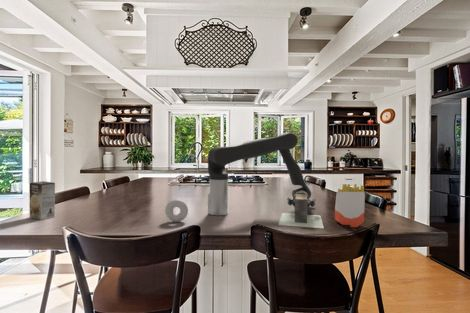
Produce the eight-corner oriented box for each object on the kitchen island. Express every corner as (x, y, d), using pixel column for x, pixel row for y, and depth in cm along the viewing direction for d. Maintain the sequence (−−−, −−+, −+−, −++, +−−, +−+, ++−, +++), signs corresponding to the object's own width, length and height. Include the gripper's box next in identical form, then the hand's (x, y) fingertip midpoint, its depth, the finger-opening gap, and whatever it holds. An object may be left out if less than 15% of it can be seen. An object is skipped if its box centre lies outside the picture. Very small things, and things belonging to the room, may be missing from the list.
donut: (164, 222, 119) (164, 199, 118) (166, 220, 122) (166, 198, 122) (187, 223, 118) (187, 200, 118) (188, 221, 122) (188, 198, 122)
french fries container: (334, 224, 120) (335, 182, 119) (358, 224, 120) (359, 183, 119) (338, 226, 115) (339, 184, 114) (364, 227, 115) (365, 184, 115)
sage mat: (278, 227, 114) (278, 224, 114) (282, 215, 135) (282, 213, 135) (323, 230, 109) (323, 228, 109) (320, 217, 131) (320, 215, 131)
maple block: (294, 222, 118) (295, 199, 117) (295, 214, 131) (295, 194, 131) (307, 223, 116) (307, 199, 116) (306, 215, 130) (306, 194, 130)
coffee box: (28, 217, 124) (28, 182, 124) (43, 214, 130) (43, 181, 130) (41, 220, 121) (40, 183, 120) (55, 217, 126) (55, 182, 126)
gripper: (287, 190, 143) (285, 196, 126) (315, 192, 139) (317, 197, 123) (287, 205, 143) (285, 212, 126) (315, 206, 140) (317, 214, 123)
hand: (301, 205), depth 125 cm, fingers closed on maple block, 5 cm apart
